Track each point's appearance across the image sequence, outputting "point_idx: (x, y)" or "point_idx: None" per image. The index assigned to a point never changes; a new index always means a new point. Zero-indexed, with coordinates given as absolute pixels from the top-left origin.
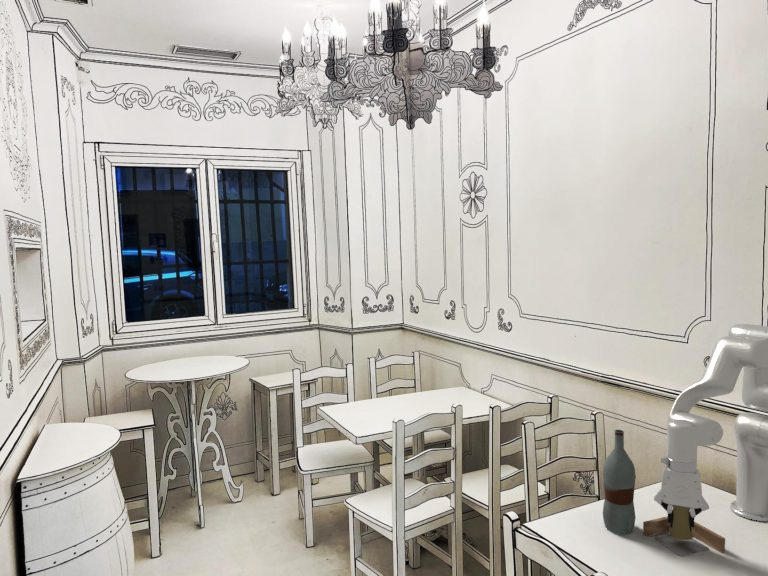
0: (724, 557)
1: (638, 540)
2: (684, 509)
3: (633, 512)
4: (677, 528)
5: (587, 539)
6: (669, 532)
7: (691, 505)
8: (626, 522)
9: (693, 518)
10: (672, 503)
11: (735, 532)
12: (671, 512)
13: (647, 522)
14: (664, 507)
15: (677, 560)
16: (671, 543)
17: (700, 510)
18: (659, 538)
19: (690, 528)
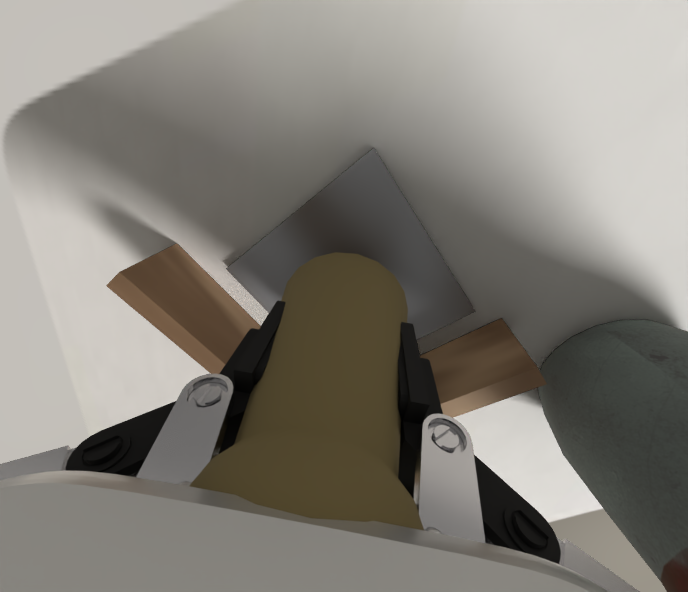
0: (161, 203)
1: (562, 277)
2: (270, 453)
3: (642, 443)
4: (371, 299)
5: None
6: (407, 314)
7: (77, 547)
8: (679, 363)
9: (225, 375)
10: (479, 589)
11: (149, 399)
12: (413, 430)
13: (522, 380)
14: (496, 488)
15: (408, 80)
16: (396, 270)
17: (87, 452)
18: (444, 307)
19: (278, 309)
